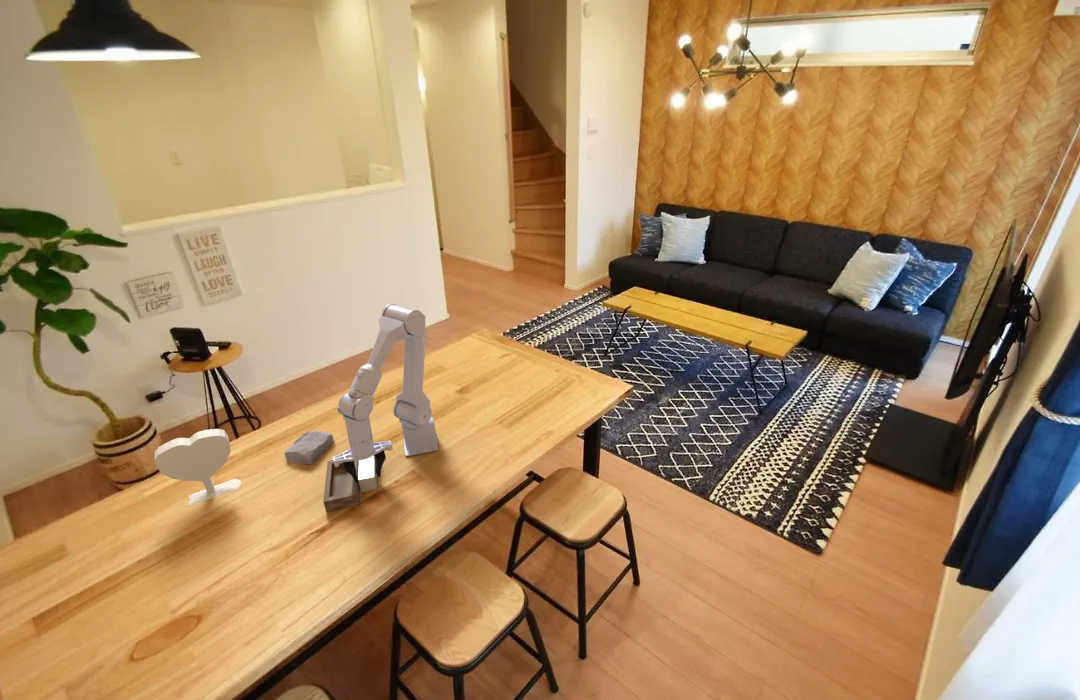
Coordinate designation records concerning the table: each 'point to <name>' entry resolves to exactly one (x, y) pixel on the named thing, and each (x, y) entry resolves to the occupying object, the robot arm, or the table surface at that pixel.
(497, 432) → the table surface
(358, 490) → the shallow brown tray
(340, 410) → the robot arm
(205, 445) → the heart sculpture
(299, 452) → the stone block
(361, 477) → the rectangular block
